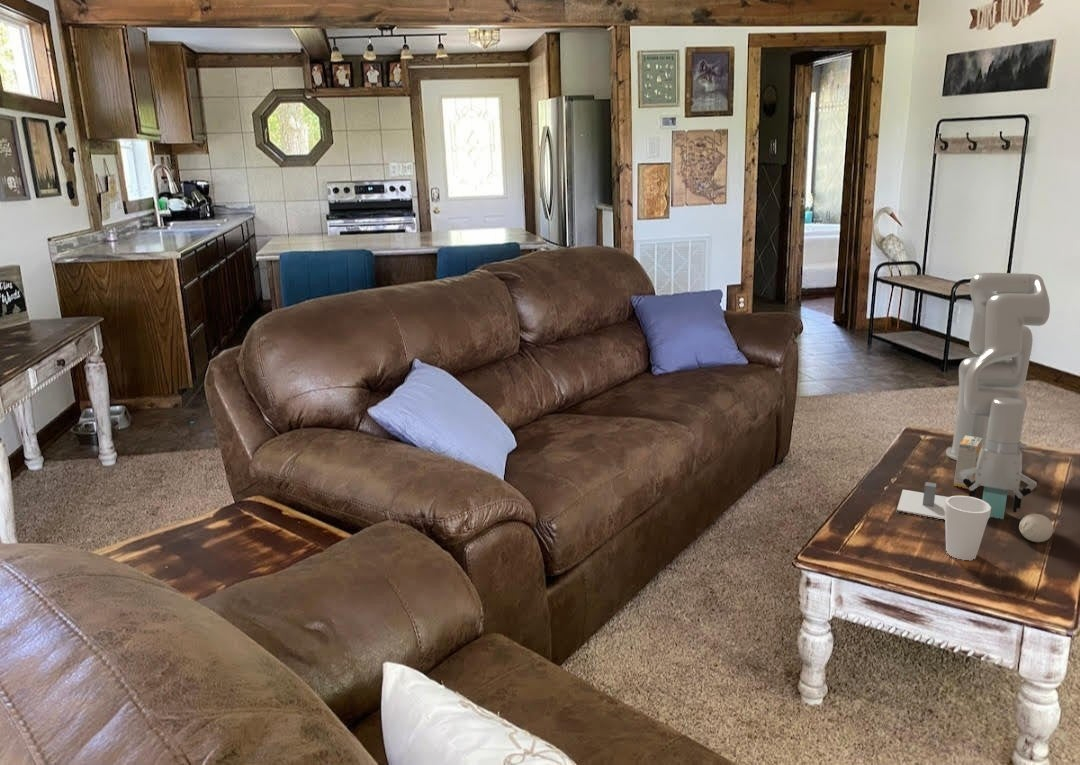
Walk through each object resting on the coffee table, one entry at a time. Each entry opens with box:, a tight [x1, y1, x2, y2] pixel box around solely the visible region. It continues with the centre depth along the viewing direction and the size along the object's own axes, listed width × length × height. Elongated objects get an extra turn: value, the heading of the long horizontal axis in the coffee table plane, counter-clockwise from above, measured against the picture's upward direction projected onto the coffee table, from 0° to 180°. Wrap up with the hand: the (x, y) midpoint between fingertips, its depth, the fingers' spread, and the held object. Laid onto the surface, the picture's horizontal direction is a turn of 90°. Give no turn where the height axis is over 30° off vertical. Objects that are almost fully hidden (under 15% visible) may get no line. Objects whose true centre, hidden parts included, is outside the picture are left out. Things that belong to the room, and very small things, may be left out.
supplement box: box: [953, 435, 982, 490], centre depth 223 cm, size 8×5×13 cm, turn 143°
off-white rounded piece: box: [1018, 513, 1054, 543], centre depth 191 cm, size 7×7×7 cm
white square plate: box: [896, 481, 949, 520], centre depth 210 cm, size 14×14×6 cm
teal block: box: [981, 486, 1008, 520], centre depth 206 cm, size 5×5×7 cm
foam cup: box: [944, 495, 991, 561], centre depth 185 cm, size 10×9×13 cm
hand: (993, 506), depth 206 cm, fingers open, 9 cm apart
